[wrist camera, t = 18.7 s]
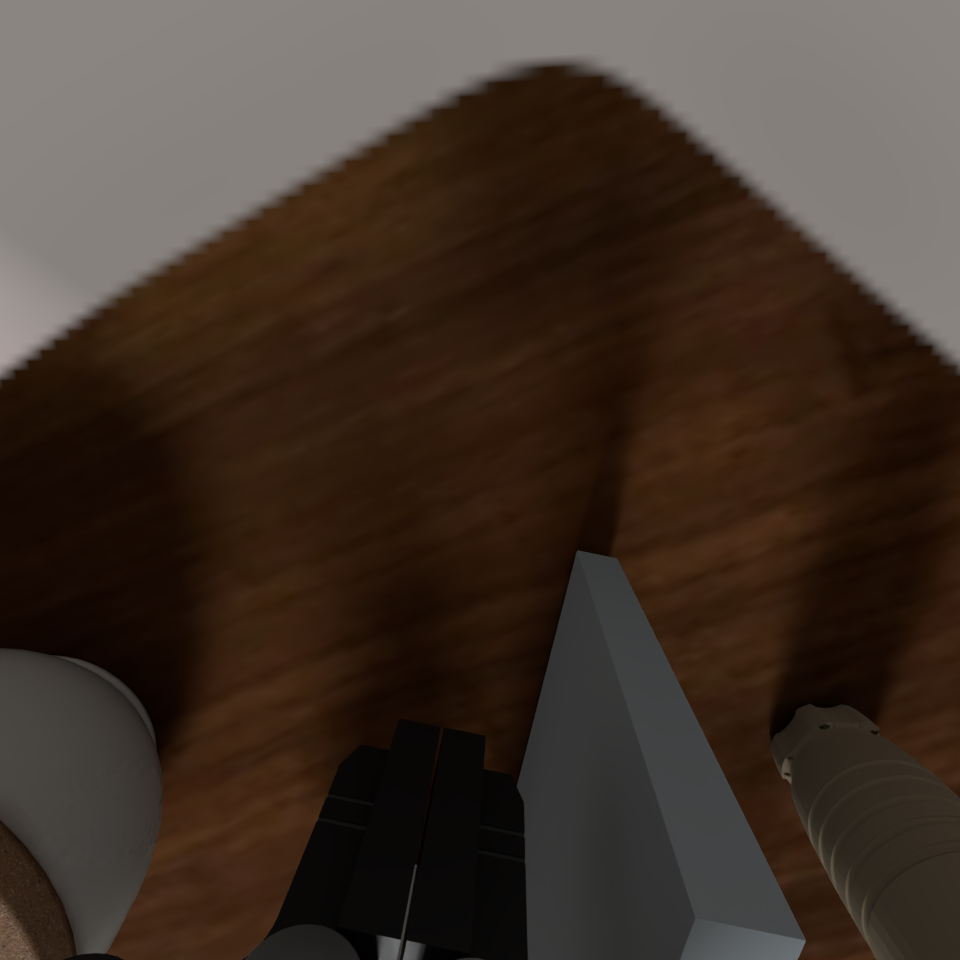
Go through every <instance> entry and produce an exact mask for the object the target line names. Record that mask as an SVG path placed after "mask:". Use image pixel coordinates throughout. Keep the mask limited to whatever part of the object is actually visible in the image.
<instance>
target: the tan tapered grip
mask: <svg viewBox="0 0 960 960" xmlns="http://www.w3.org/2000/svg"><path fill="white" fill-rule="evenodd" d="M879 730H880V728H879V727H878V726H876V725H875V724H874V723H873V722H872V721H871V720H869V719H868V718H867V717H866V716H864V715H863V714H861V713H860V712H859V711H857V710H856V709H854V708H852V707H850V706H847V705H840V704H839V705H838V706H836V707H831V708H820V707H815V706H813V705H811V704H808V705H805V706H802V707H800V708H798V709H796V713H795V715H794V717H793V719H792V720H791V722H790V723H789V724H788V725H787V727H786V728H785V729H783V730H782V731H781V732H779V733H776V734H775V736H774V738H773V740H772V743H771V752H772V755H773V758H774V761H775V763H776V766H777V768H778V770H779V772H780V774H781V776H782V778H786V779H787V780H788V781H789V782H790V785H791V793H792V797H793V801H794V804H795V806H796V809H797V811H798V814H799V816H800V819H801V821H802V824H803V826H804V828H805V830H806V832H807V834H808V837H809V839H810V841H811V843H812V845H813V847H814V848H815V850H816V853H817V855H818V857H819V859H820V861H821V862H822V864H823V866H824V868H825V870H826V871H827V874H828V876H829V878H830V880H831V882H832V884H833V885H834V887H835V889H836V891H837V892H838V894H839V896H840V898H841V900H842V901H843V903H844V905H845V907H846V908H847V910H848V912H849V913H850V915H851V917H852V918H853V920H854V922H855V924H856V925H857V927H858V929H859V930H860V932H861V934H862V936H863V937H864V939H865V941H866V942H867V944H868V946H869V947H870V949H871V950H872V952H873V954H874V956H875V958H876V959H877V960H960V798H959V797H958V796H957V795H956V794H955V793H954V792H953V791H952V790H951V789H949V788H948V787H947V786H946V785H945V784H944V783H943V782H941V781H940V780H939V779H938V778H937V777H936V776H935V775H933V774H932V773H931V772H930V771H929V770H927V769H926V768H925V767H924V766H923V765H921V764H920V763H919V762H918V761H916V760H915V759H914V758H913V757H912V756H910V755H909V754H907V753H906V752H905V751H903V750H902V749H901V748H899V747H898V746H896V745H895V744H894V743H892V742H890V741H889V740H887V739H886V738H883V737H880V735H879Z"/></svg>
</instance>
